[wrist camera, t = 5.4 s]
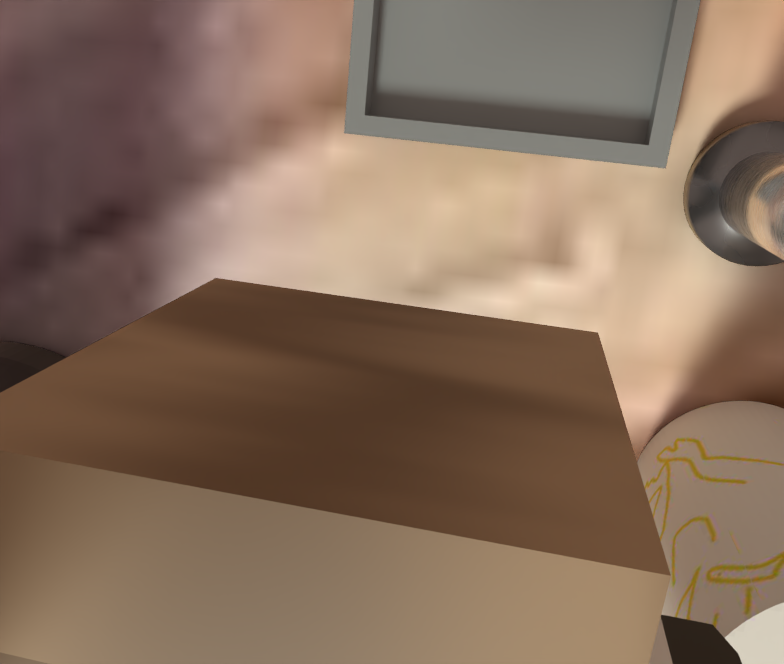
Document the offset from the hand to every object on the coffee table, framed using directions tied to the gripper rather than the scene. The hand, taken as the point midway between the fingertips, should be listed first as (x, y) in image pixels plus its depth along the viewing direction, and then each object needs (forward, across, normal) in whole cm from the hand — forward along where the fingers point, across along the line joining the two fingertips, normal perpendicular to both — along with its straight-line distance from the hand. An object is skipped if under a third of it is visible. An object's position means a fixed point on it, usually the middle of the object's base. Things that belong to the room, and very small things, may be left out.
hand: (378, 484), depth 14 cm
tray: (+16, +1, +11) cm, 20 cm away
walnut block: (0, 0, 0) cm, 0 cm away
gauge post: (+16, +10, +5) cm, 20 cm away
